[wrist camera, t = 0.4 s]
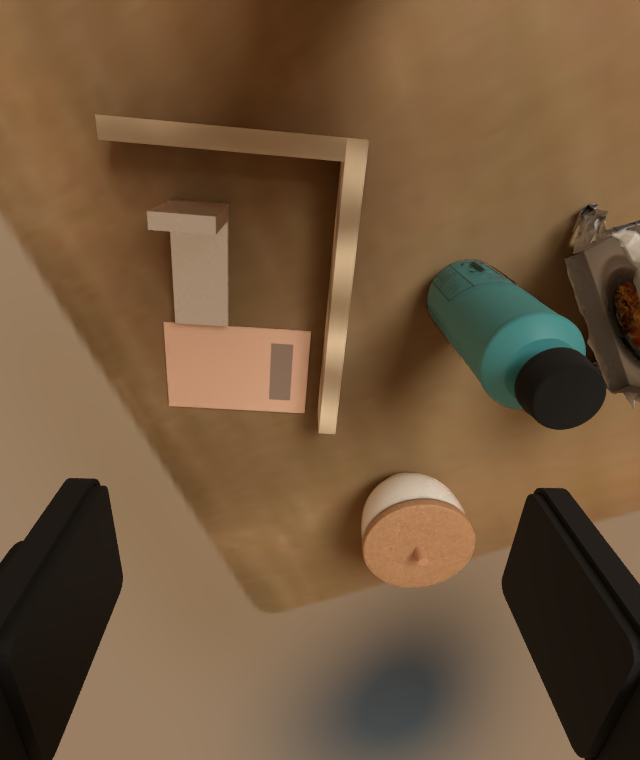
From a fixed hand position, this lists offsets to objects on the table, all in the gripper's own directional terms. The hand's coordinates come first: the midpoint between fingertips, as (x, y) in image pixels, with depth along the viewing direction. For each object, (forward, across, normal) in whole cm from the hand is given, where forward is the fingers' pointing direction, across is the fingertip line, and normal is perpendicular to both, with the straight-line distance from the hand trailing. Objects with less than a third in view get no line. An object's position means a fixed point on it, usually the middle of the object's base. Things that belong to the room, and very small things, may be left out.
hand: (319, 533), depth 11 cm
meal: (+33, -25, +2) cm, 42 cm away
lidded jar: (+33, -12, +26) cm, 44 cm away
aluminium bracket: (+33, +9, +2) cm, 34 cm away
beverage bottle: (+33, -13, +3) cm, 36 cm away
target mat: (+33, +6, +11) cm, 35 cm away
